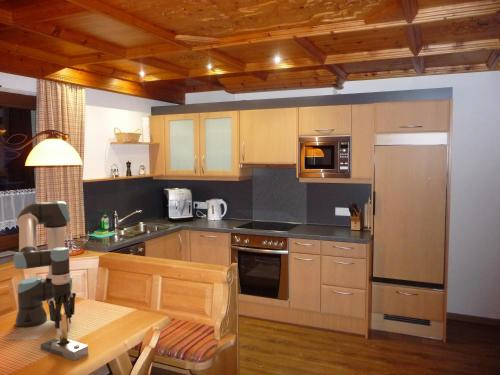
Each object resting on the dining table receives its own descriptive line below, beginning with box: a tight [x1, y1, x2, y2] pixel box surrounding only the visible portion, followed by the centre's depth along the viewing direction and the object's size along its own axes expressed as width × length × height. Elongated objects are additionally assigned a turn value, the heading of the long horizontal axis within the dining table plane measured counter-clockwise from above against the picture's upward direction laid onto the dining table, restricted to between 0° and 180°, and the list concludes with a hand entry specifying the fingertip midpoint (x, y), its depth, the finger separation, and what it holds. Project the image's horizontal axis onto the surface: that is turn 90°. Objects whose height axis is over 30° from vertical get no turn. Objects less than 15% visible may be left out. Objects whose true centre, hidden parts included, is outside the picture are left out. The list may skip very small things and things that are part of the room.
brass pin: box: [59, 312, 69, 346], centre depth 188 cm, size 3×3×14 cm
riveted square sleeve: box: [40, 338, 89, 362], centre depth 189 cm, size 24×7×5 cm, turn 60°
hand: (63, 333), depth 188 cm, fingers closed on brass pin, 3 cm apart
